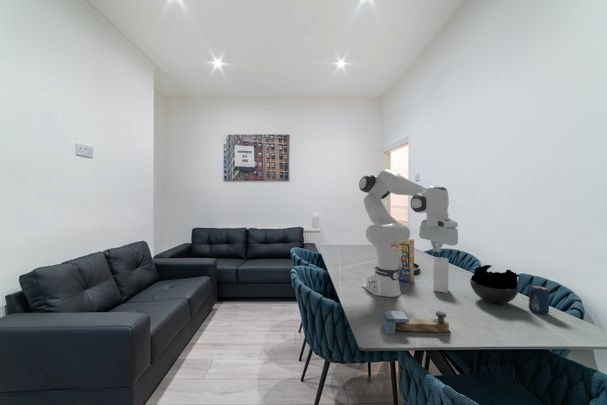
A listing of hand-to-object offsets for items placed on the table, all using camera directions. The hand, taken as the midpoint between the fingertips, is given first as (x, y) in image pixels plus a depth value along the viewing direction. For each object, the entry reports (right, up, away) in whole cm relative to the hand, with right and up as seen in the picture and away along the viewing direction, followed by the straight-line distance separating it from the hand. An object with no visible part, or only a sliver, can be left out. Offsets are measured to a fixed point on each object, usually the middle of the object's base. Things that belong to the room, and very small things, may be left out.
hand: (436, 251), depth 116 cm
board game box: (+1, -28, +51) cm, 59 cm away
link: (-13, -29, -13) cm, 35 cm away
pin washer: (-6, -29, -14) cm, 33 cm away
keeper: (-24, -29, -13) cm, 40 cm away
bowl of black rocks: (+36, -29, +14) cm, 49 cm away
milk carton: (+19, -29, +30) cm, 46 cm away
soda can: (+49, -29, +2) cm, 57 cm away
